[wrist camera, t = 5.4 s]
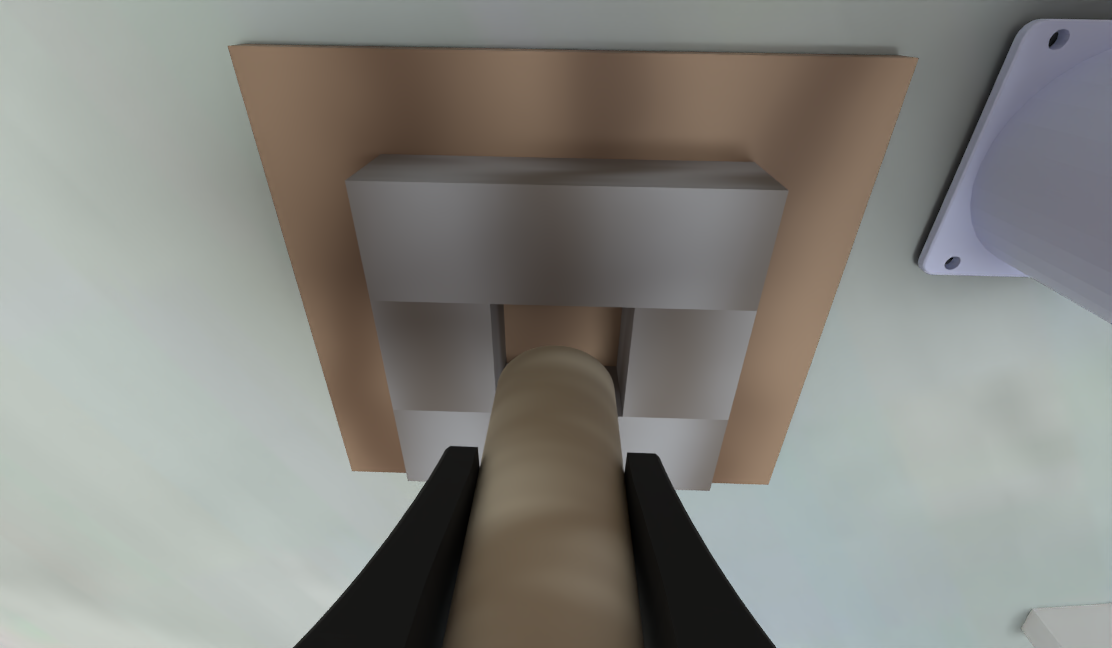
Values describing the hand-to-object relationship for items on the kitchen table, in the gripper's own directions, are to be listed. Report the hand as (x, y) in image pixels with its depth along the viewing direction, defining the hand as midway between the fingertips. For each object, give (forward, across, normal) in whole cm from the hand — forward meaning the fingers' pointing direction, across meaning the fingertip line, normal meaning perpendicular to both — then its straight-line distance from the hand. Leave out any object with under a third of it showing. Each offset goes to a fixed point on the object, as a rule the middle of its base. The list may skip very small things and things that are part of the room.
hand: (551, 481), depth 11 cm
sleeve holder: (+10, 0, +1) cm, 10 cm away
